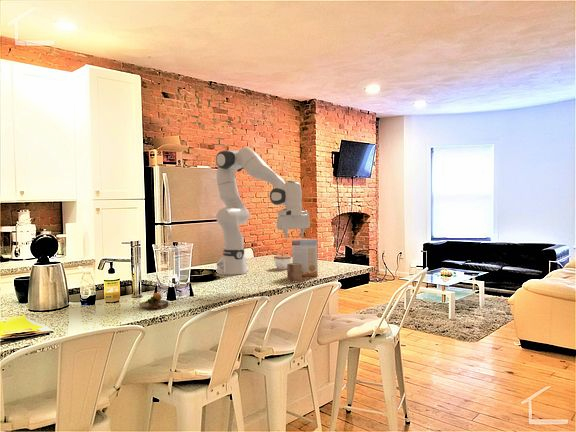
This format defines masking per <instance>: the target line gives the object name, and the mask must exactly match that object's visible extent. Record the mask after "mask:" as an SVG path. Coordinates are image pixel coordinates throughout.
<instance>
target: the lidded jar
mask: <svg viewBox="0 0 576 432" xmlns="http://www.w3.org/2000/svg"><path fill="white" fill-rule="evenodd" d="M273 261H274V266H275V267H276V268H277V269H278V270H287V264H290V263H292V255H290V254H289V255H288V254H284V252H282V253H281V254H277V255H274V256H273Z"/></svg>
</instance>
